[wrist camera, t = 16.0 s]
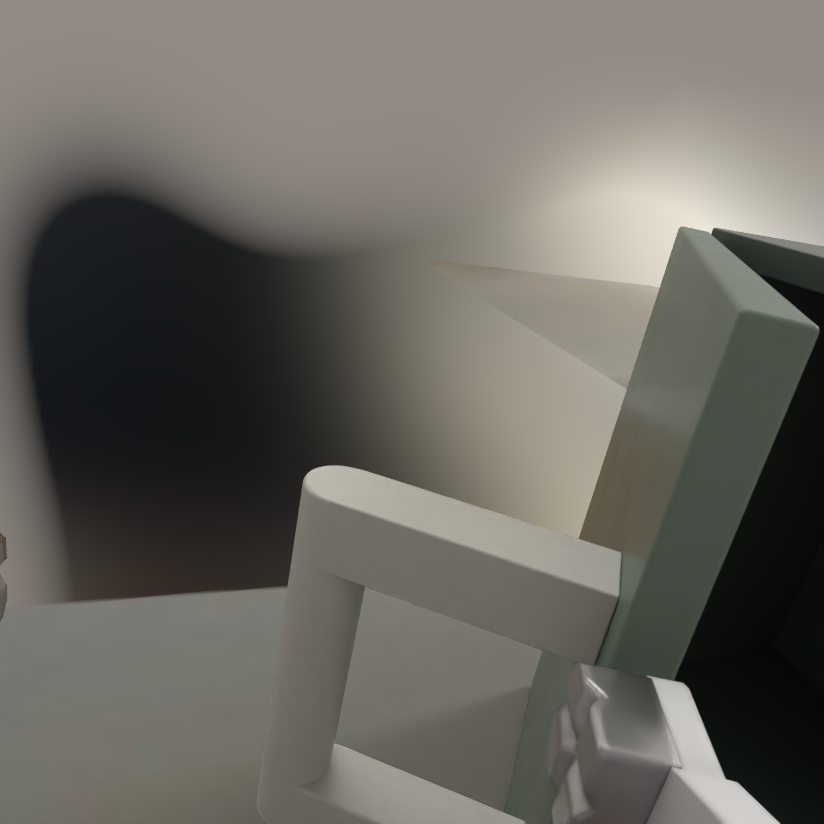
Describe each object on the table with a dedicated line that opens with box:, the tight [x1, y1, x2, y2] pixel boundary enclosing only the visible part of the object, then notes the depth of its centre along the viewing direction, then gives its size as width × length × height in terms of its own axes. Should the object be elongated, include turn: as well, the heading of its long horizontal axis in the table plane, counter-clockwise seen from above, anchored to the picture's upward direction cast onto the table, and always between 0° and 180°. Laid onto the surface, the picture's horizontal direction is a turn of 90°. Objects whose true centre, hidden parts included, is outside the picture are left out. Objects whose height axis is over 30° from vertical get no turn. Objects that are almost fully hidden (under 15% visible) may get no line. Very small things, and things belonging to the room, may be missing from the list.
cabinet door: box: [256, 227, 819, 824], centre depth 20 cm, size 7×16×20 cm, turn 163°
